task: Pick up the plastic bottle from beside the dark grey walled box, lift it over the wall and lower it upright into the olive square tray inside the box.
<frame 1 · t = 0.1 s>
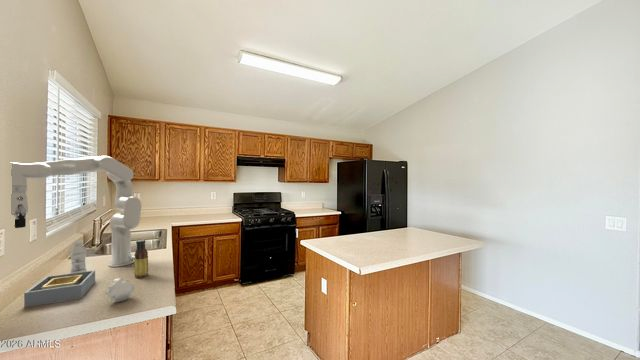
hand: (15, 226, 119), 31 cm above the worktop, tool pointing down, fingers open, 9 cm apart
walled box: (63, 293, 120), on the worktop
plastic bottle: (78, 279, 137), on the worktop
olive square tray: (63, 285, 120), in the walled box, point 4 cm above the worktop
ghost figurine: (120, 301, 113), on the worktop
sauce bottle: (141, 276, 140), on the worktop
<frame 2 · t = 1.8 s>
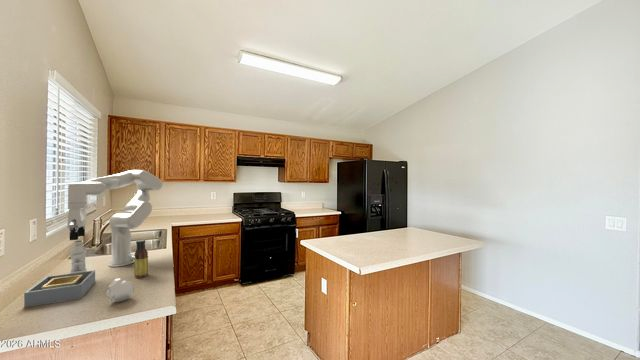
hand: (77, 238, 136), 22 cm above the worktop, tool pointing down, fingers open, 9 cm apart
nothing on the worktop moved.
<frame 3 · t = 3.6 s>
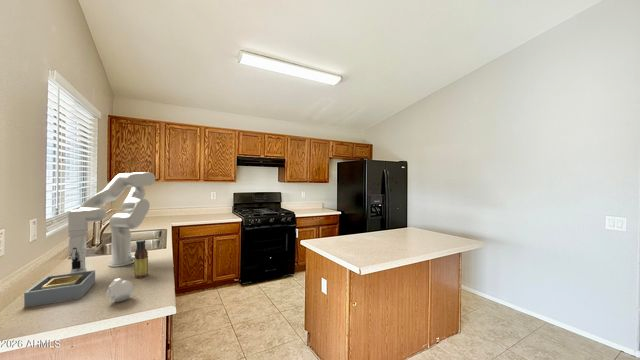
hand: (78, 266, 137), 6 cm above the worktop, tool pointing down, fingers closed on plastic bottle, 5 cm apart
plastic bottle: (78, 279, 137), on the worktop, touching gripper
everything else where it was.
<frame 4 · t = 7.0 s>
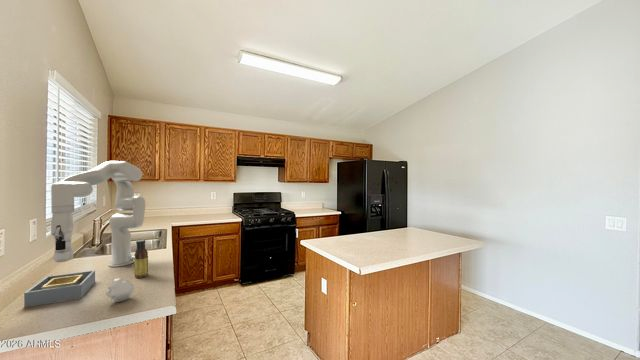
hand: (63, 247, 120), 21 cm above the worktop, tool pointing down, fingers closed on plastic bottle, 5 cm apart
plastic bottle: (63, 262, 120), point 15 cm above the worktop, touching gripper
everything else where it was.
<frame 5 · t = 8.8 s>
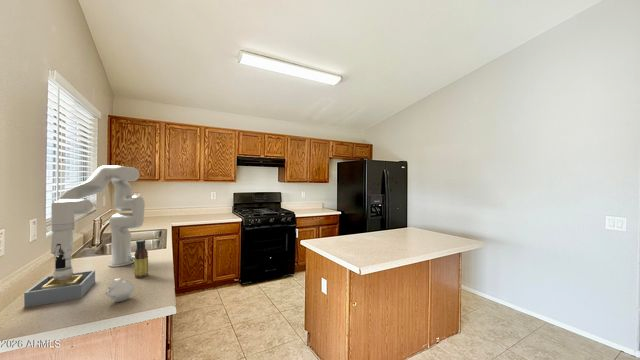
hand: (63, 265, 120), 13 cm above the worktop, tool pointing down, fingers closed on plastic bottle, 5 cm apart
plastic bottle: (63, 279, 120), point 6 cm above the worktop, touching gripper
everything else where it was.
when the fingers open (9 cm above the worktop, at t = 10.3 s): plastic bottle drops 1 cm, resting on walled box.
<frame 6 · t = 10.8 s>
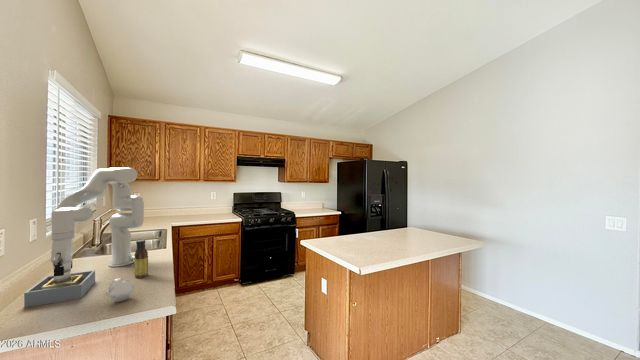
hand: (63, 272, 120), 10 cm above the worktop, tool pointing down, fingers open, 9 cm apart
plastic bottle: (62, 292, 119), point 1 cm above the worktop, touching walled box
everything else where it was.
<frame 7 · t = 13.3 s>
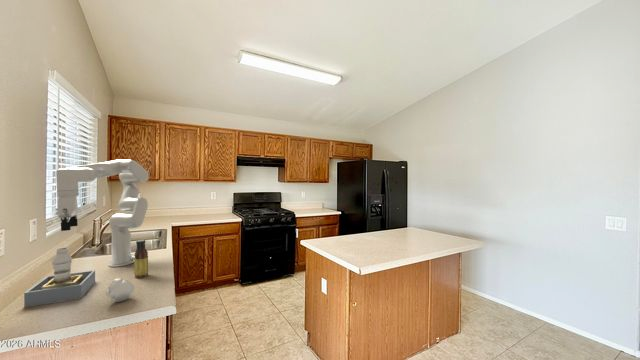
hand: (69, 228, 126), 29 cm above the worktop, tool pointing down, fingers open, 9 cm apart
nothing on the worktop moved.
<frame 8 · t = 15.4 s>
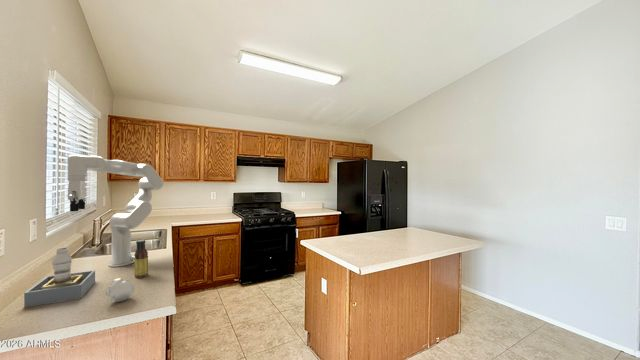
hand: (77, 210, 138), 36 cm above the worktop, tool pointing down, fingers open, 9 cm apart
nothing on the worktop moved.
at the end: plastic bottle 0.9 cm off-centre on the olive square tray, point 0.8 cm above the olive square tray's base; plastic bottle tilted 0°; the gripper is holding nothing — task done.
